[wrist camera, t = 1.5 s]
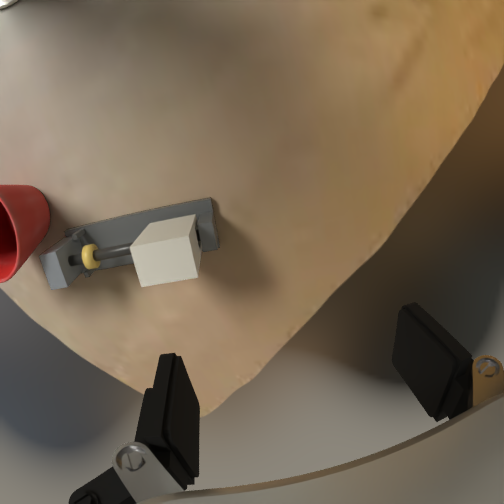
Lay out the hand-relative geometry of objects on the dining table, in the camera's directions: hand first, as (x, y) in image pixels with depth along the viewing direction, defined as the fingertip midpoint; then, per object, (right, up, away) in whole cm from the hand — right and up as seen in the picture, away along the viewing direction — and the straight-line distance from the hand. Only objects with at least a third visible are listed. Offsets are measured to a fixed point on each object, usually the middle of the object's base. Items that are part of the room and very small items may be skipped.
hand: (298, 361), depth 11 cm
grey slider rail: (-15, +6, +22) cm, 27 cm away
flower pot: (-31, +9, +19) cm, 37 cm away
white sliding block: (-10, +6, +20) cm, 23 cm away
